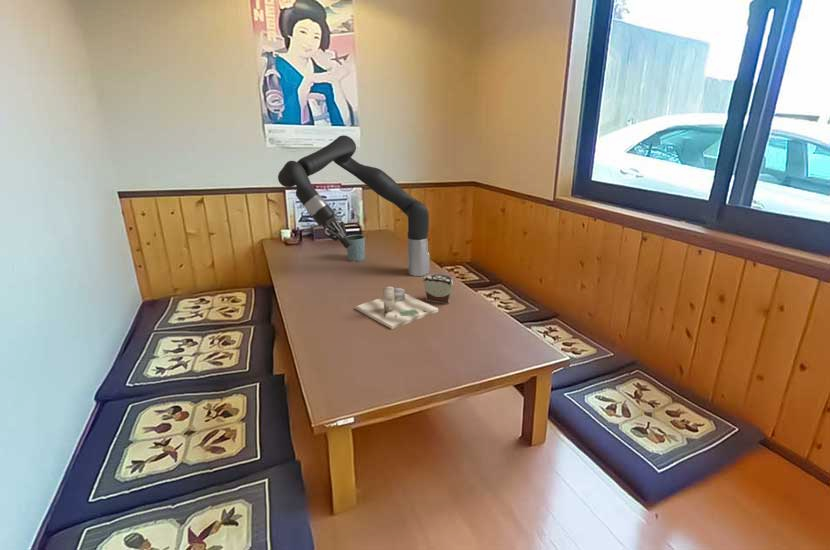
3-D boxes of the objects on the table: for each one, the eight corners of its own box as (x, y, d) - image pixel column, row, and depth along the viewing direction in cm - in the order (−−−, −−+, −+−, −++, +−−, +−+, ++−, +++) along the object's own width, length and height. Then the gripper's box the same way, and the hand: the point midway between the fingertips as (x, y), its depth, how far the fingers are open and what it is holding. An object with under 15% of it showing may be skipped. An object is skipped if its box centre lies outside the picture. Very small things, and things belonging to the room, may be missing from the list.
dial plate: (400, 294, 183) (400, 291, 183) (438, 311, 167) (438, 308, 166) (355, 309, 170) (355, 305, 169) (392, 329, 153) (391, 325, 153)
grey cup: (369, 258, 230) (368, 236, 226) (357, 263, 222) (356, 240, 218) (354, 255, 236) (353, 233, 232) (342, 260, 228) (340, 238, 224)
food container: (457, 298, 178) (457, 275, 174) (451, 304, 172) (452, 280, 169) (429, 294, 183) (429, 271, 179) (423, 299, 177) (422, 276, 174)
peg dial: (392, 294, 179) (391, 275, 176) (406, 295, 178) (406, 276, 175) (378, 313, 162) (376, 292, 159) (393, 314, 161) (392, 293, 158)
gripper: (321, 211, 171) (349, 246, 173) (304, 220, 160) (334, 257, 162) (334, 200, 168) (362, 236, 170) (317, 208, 156) (348, 246, 158)
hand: (348, 246), depth 166 cm, fingers closed
